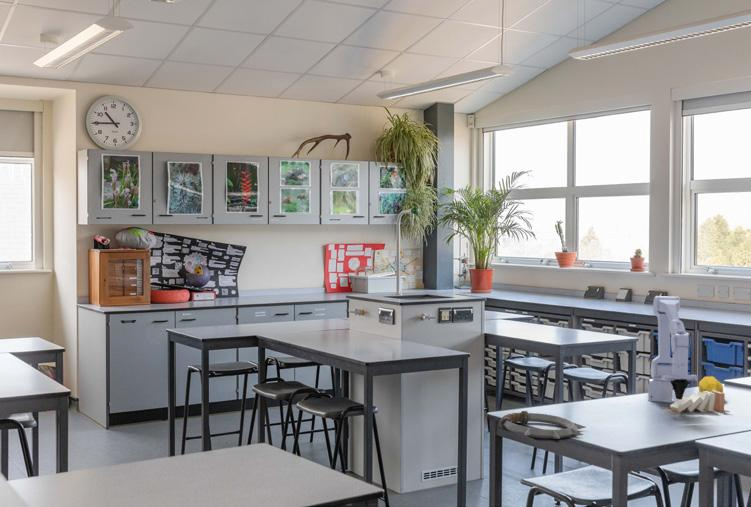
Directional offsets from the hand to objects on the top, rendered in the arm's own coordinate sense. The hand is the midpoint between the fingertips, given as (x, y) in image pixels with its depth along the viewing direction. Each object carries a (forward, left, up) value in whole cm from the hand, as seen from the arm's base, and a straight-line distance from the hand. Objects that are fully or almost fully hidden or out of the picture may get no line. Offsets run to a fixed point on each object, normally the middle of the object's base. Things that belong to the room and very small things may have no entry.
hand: (678, 398), depth 327 cm
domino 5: (+14, +11, -5) cm, 18 cm away
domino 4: (+10, +8, -5) cm, 13 cm away
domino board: (+6, +5, -5) cm, 9 cm away
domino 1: (-1, -1, -4) cm, 4 cm away
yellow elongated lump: (+9, +37, -6) cm, 39 cm away
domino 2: (+2, +2, -4) cm, 5 cm away
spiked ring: (-38, -59, -6) cm, 70 cm away
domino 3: (+6, +5, -4) cm, 9 cm away
